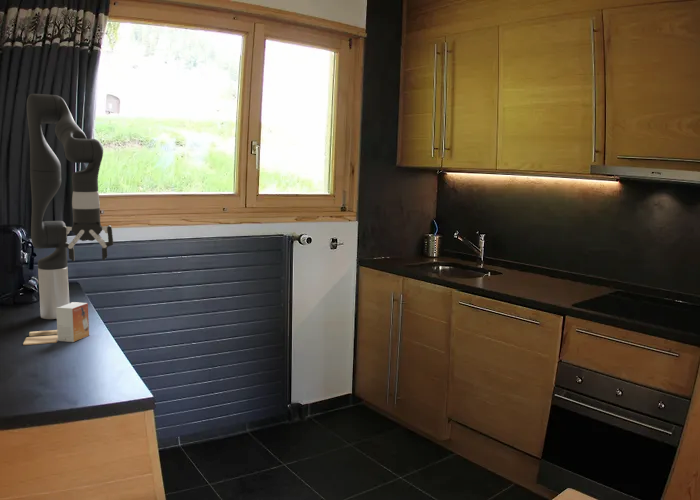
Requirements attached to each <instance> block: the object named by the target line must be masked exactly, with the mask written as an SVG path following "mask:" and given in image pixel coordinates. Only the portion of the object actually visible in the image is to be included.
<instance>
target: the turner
mask: <svg viewBox="0 0 700 500" xmlns="http://www.w3.org/2000/svg"><path fill="white" fill-rule="evenodd" d="M28 335H29V336H28V337H39V336H52V335H58V333H57V329H51V330H50V329H49V330H39V331H37V330H35V331H29V333H28Z"/></svg>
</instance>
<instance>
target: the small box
mask: <svg viewBox="0 0 700 500" xmlns="http://www.w3.org/2000/svg"><path fill="white" fill-rule="evenodd" d="M88 303H89V302H78V301H77V302H76V301H71V302H69V304H66V305H64V306H61V307H57V308H56V314H57V319H56V330H57V333H58V340H57V342H68V343H75V342H76V341H79V340H81V339H85V338H87V337H89V336H90V323H89V322H90V321H89V318H90V317H89V304H88Z"/></svg>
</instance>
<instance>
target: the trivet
mask: <svg viewBox="0 0 700 500" xmlns="http://www.w3.org/2000/svg"><path fill="white" fill-rule="evenodd" d="M56 343H58V335H57V334H53V335H40V336H28V337H27V336H26V337H25V339H24V341H23V343H22V344H23V346H29V345H31V346H32V345H43V344H45V345H46V344H56Z"/></svg>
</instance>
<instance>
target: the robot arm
mask: <svg viewBox="0 0 700 500" xmlns="http://www.w3.org/2000/svg"><path fill="white" fill-rule="evenodd" d="M26 116H27V127H28V134H29V135H28V136H29V158H30V160H29V161H30V162H29V163H30V164H29V166H30V167H29V168H30V169H29V171H30V172H29V173H30V191H31V218H30V219H31V221H30V222H31V224H30V225H31V226H30V237H31V238H30V240H31V244H32V246H33V248H35V249H38V250H41V249H55V250H54V251H53V252H52V253H50V254H49V255H47V256H44V257H41V258H39V259H38V261H37V270H38V272H37V273H38V289H39V291H38V292H39V306H40V307H39V312H40V318H41V319H44V320H57V314H56V308H57V307H61V306H64V305H66V304H69V303H70V290H69V285H70V284H69V272H68V269H69V267H68V259H69V260H71V262H75V260H76V259H75V248H74V246H76V244H77V243H78V241H79V240H80V241H82V242H85V241H91V242H92V241H97V243H99V245H100V246H101V259H102V261H106V259H107V258H108V247H111V246H113V245H114V238H113V228H112V225H107V226H106V225H104V226H103V225H102V223H101V202H100V196H99V173H100V169H101V168H100V167H101V165H102V160H103V156H104V147H103V144H102V142H100V141H99V139H95V138H87V136H86V134H85V132H84V131H83V130H82V128H80V127H79V125H78V124H77V123H76V121H75V120H74V118H73V114H72V113H71V111H70V109H69V107H68V105H67V103H66V101H65V99H64V98H63V97H62V96H59V95H56V94H48V93H46V94H45V93H44V94H42V93H30V94H29V95H28V97H27V99H26ZM42 124H50V125H51V124H53V125H55V128H54V131H55V132H54V133H55V136H56V138H57V139H58V140H59V142H60V144H62V146H63V150H64V156H65V159H66V160H67V161H69V162H70V163H75V164H87V167H86V168H85V169H83V170H77V171H74V172H73V173H72V176H71V181H72V198H71V208H72V226H67V225H66V223H65V222H64V221H63V220H45V221H44V216H45V212H46V210H47V208H48V206H49V204H50V202H51V201H52V200H53V199H54V197H55V196H56V195H57V193H58V191H59V189H60V187H61V185H62V165H61V161H60V160H59V158H58V157H57V155H56V154H55V152H54V151H53V149H52V148H51V147H50V145H49V144H48V142H47V140H46V138H45V136H44V134H43V133H44V132H43V130H42V129H43V128H42ZM103 231H104V234H107V239H108V241H107V242H106V241H105V240H104V238H102V237H101V235H100V234H101V232H103ZM70 232H72V233H73V234H74V235H75V237H73V239H72V240H71V241H70V243H69V242H68V235H69V234H70Z"/></svg>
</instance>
